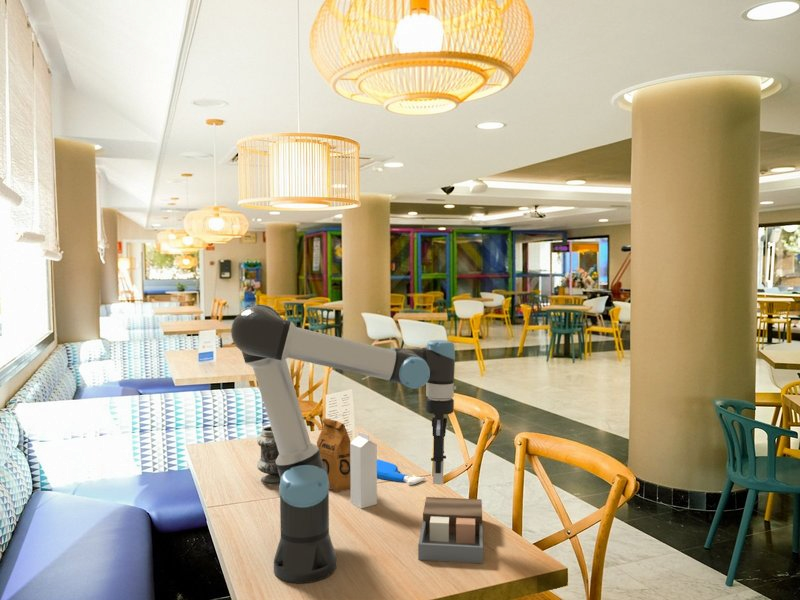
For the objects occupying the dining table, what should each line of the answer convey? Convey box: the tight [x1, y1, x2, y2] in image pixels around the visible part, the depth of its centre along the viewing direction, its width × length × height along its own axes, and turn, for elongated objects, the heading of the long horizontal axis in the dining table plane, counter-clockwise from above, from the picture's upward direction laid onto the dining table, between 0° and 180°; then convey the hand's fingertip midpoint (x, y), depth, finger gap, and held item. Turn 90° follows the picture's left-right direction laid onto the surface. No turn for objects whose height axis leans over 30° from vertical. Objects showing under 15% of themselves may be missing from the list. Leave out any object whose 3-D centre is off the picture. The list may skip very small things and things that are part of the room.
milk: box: [350, 431, 378, 509], centre depth 186 cm, size 6×6×22 cm
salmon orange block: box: [456, 518, 475, 544], centre depth 161 cm, size 5×5×4 cm
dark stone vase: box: [256, 425, 280, 486], centre depth 207 cm, size 12×12×18 cm
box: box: [417, 520, 484, 564], centre depth 157 cm, size 14×16×4 cm
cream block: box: [430, 516, 449, 542], centre depth 162 cm, size 5×5×4 cm
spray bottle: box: [377, 458, 426, 486], centre depth 212 cm, size 3×11×24 cm
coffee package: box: [316, 417, 352, 492], centre depth 202 cm, size 10×12×22 cm
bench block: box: [422, 496, 483, 536], centre depth 170 cm, size 12×16×6 cm
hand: (438, 483), depth 165 cm, fingers closed
